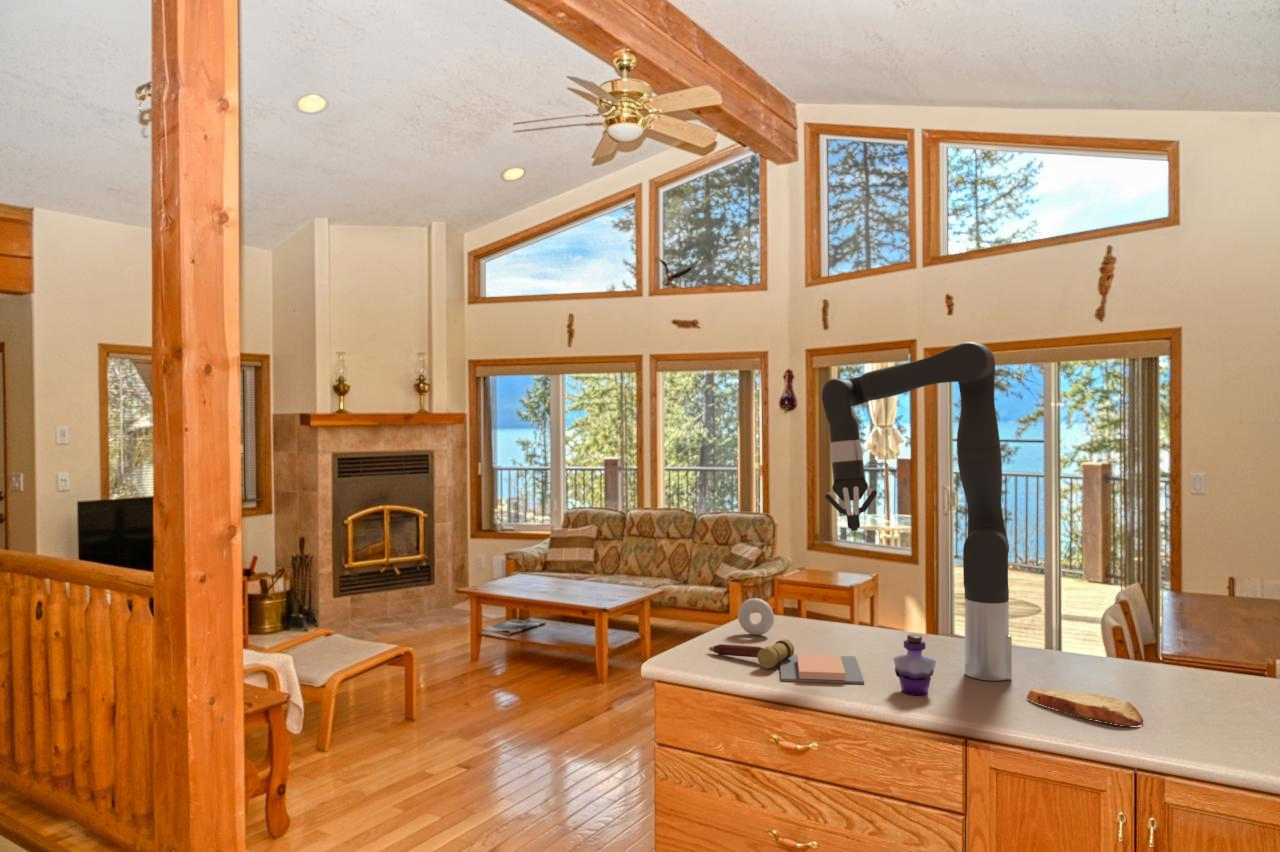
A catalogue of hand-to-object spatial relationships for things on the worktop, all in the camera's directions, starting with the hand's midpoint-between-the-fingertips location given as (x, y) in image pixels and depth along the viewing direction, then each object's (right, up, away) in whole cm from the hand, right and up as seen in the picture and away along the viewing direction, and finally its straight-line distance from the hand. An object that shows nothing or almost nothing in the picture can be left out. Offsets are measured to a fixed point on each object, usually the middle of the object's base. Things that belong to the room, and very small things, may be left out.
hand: (854, 530), depth 210 cm
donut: (-21, -31, +22) cm, 43 cm away
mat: (-11, -31, -10) cm, 34 cm away
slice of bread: (+35, -32, -39) cm, 62 cm away
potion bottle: (+6, -31, -27) cm, 42 cm away
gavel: (-27, -31, -2) cm, 41 cm away
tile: (-10, -29, -7) cm, 32 cm away
